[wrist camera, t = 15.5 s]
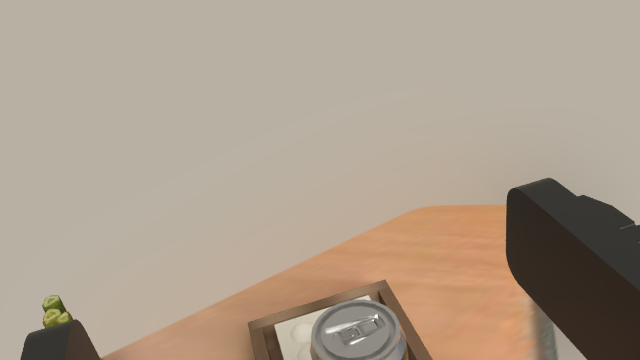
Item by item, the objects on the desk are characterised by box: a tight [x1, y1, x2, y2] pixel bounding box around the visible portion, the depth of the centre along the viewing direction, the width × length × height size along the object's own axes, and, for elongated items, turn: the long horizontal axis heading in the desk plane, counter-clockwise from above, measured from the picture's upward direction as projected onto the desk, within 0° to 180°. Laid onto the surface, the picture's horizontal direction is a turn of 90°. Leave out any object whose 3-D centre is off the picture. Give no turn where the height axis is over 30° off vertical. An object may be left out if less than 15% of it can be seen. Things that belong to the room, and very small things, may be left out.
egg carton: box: [274, 295, 371, 360], centre depth 44 cm, size 8×6×4 cm
